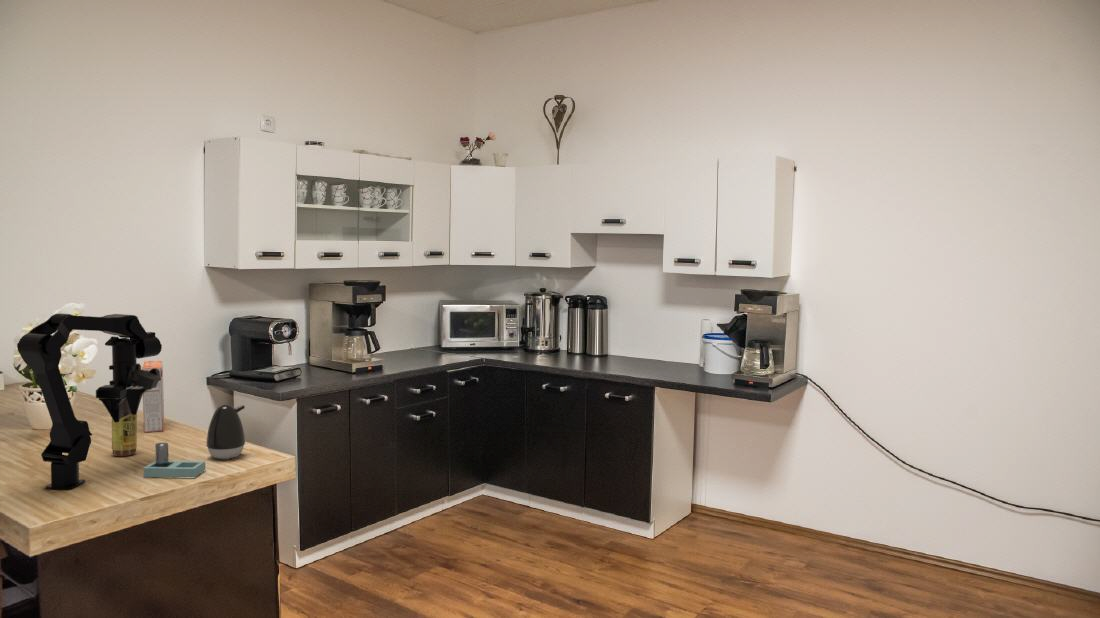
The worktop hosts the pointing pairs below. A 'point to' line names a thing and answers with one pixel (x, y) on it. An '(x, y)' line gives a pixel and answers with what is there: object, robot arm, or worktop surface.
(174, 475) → the pegboard
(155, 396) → the cracker box
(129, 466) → the worktop surface
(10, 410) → the worktop surface
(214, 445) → the pump dispenser
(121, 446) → the sauce bottle
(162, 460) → the peg
